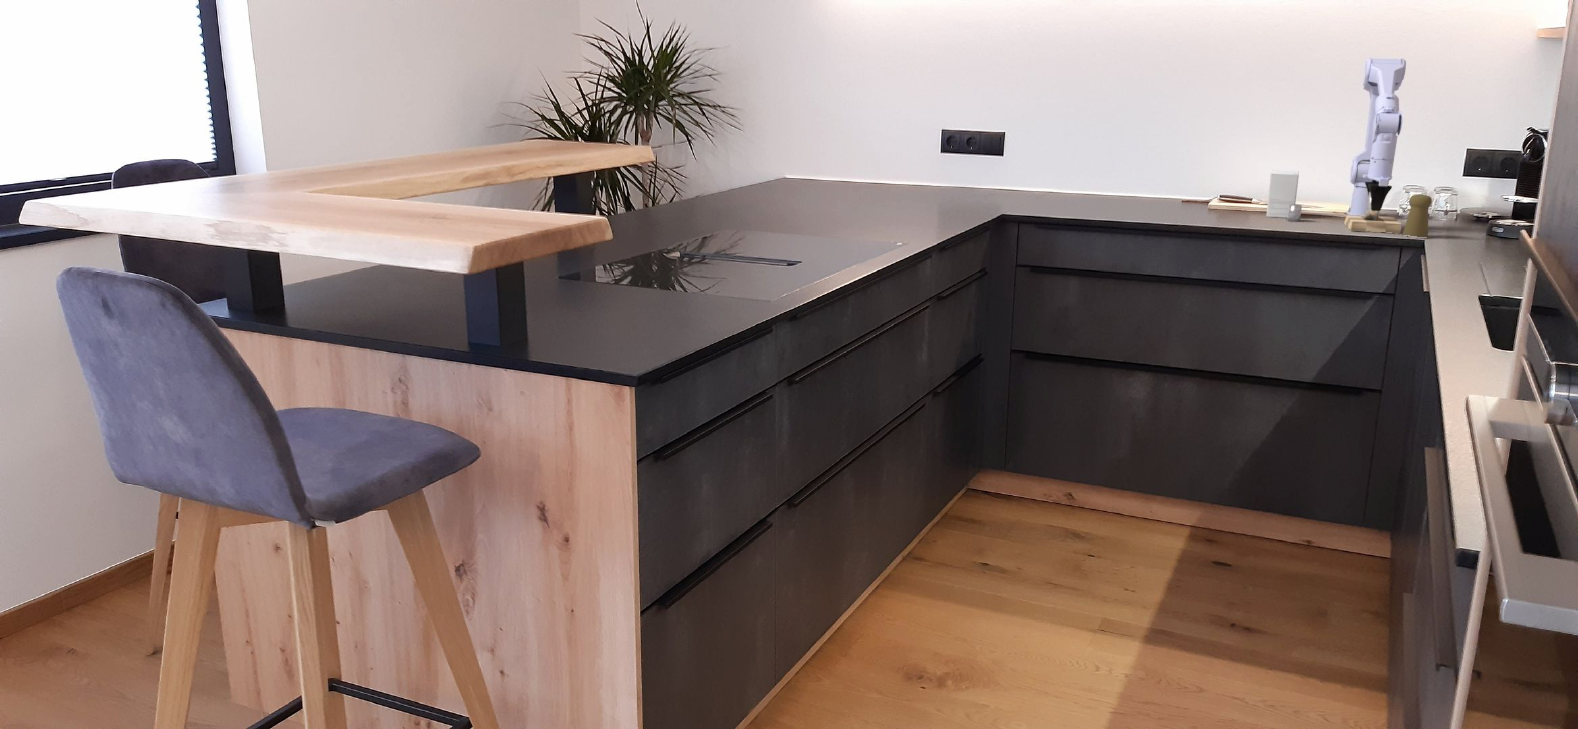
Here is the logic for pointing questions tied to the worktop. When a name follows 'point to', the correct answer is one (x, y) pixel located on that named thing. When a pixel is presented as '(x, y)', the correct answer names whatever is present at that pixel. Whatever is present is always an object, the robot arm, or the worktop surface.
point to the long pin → (1369, 213)
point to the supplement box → (1282, 193)
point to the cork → (1418, 216)
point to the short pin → (1294, 213)
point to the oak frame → (1372, 224)
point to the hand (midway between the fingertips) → (1374, 209)
